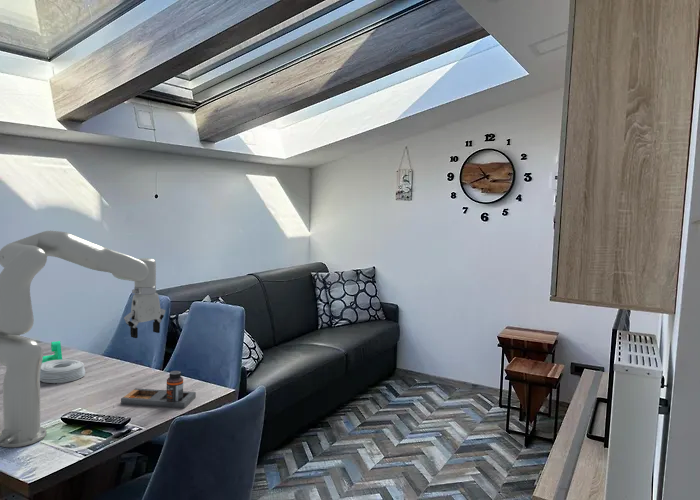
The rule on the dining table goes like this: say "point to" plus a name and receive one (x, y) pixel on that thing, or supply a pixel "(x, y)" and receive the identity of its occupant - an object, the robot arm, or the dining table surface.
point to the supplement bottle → (174, 386)
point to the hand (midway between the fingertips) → (145, 334)
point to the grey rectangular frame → (156, 398)
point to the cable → (61, 371)
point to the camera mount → (57, 354)
